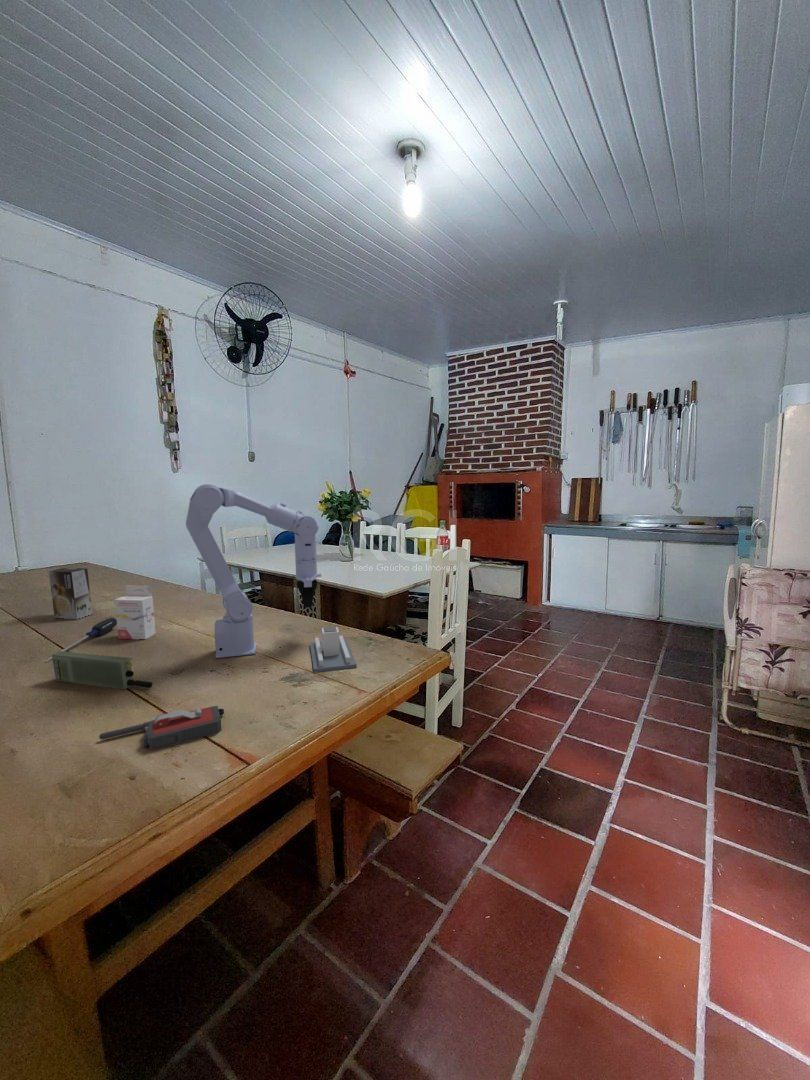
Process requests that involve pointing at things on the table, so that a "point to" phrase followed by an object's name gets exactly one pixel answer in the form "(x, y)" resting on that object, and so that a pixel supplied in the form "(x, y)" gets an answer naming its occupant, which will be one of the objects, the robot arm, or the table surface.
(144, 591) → the ink cartridge box
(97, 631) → the screwdriver
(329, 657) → the rail dock
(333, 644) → the block
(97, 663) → the handheld radio
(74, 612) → the coffee box
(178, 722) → the walkie-talkie
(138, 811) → the table surface
